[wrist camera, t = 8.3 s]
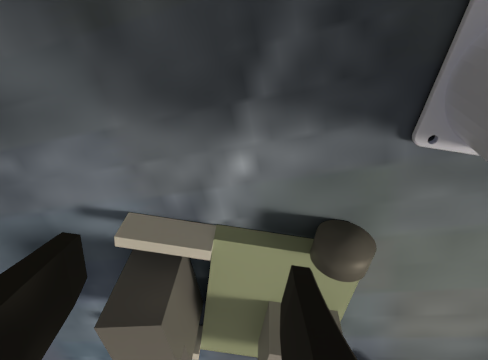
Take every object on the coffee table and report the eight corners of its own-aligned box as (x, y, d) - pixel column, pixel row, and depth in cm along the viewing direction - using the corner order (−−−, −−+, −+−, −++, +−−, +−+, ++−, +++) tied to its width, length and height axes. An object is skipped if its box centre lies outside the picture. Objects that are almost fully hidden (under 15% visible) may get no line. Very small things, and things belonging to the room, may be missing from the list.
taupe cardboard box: (185, 245, 24) (161, 325, 19) (203, 301, 28) (186, 384, 22) (133, 249, 25) (94, 328, 19) (156, 304, 28) (128, 385, 23)
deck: (371, 224, 22) (403, 304, 17) (312, 361, 31) (321, 444, 25) (127, 187, 22) (81, 257, 17) (134, 335, 30) (105, 414, 25)
